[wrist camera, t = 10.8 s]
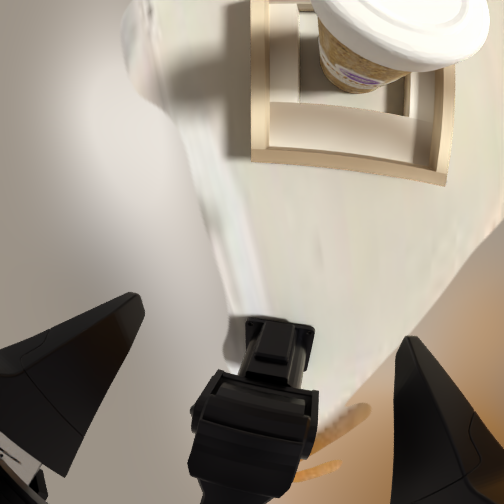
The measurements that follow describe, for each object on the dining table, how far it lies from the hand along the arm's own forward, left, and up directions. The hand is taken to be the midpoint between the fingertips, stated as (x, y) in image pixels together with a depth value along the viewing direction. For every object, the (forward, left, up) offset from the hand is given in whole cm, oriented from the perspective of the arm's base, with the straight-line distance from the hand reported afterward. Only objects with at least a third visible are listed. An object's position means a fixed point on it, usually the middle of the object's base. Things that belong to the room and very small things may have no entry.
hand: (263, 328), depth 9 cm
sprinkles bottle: (+10, -3, -13) cm, 17 cm away
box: (+9, -3, -13) cm, 16 cm away
